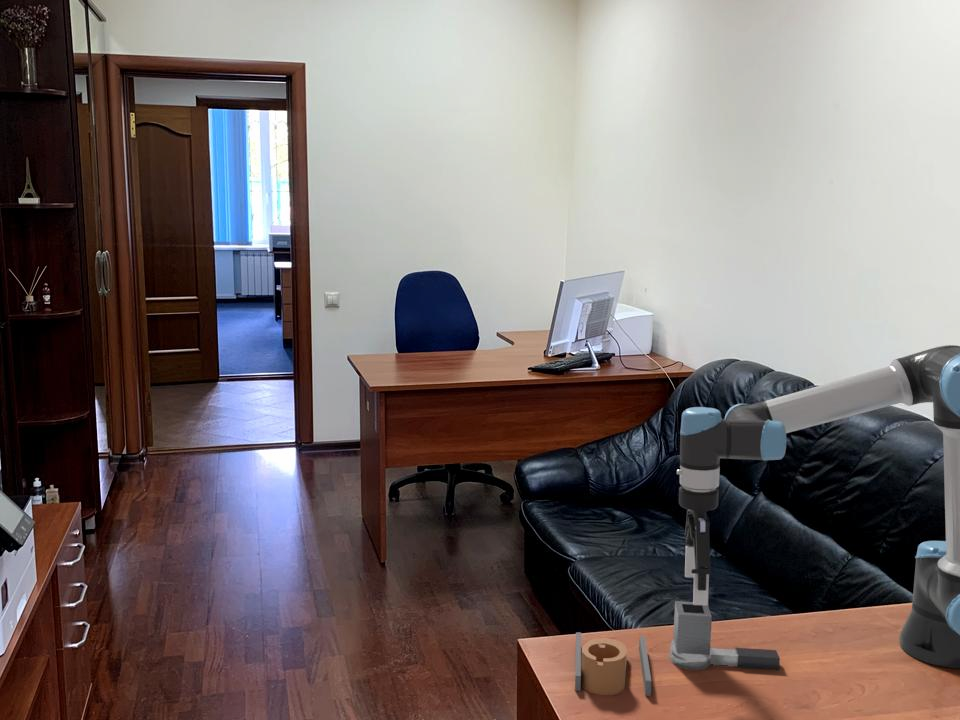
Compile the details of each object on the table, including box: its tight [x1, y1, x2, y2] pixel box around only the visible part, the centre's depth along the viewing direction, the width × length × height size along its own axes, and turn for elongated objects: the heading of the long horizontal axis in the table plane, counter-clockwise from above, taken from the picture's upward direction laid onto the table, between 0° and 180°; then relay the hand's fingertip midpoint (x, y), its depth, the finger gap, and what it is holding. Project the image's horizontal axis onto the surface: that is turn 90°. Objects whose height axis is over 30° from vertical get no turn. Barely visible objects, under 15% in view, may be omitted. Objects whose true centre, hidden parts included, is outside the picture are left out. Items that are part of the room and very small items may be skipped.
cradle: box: [574, 631, 652, 697], centre depth 172 cm, size 14×18×3 cm
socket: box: [672, 600, 713, 655], centre depth 176 cm, size 6×6×8 cm
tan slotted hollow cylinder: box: [581, 637, 628, 696], centre depth 172 cm, size 18×8×7 cm, turn 169°
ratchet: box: [669, 639, 781, 671], centre depth 176 cm, size 21×8×7 cm, turn 83°
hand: (695, 590), depth 175 cm, fingers open, 13 cm apart
